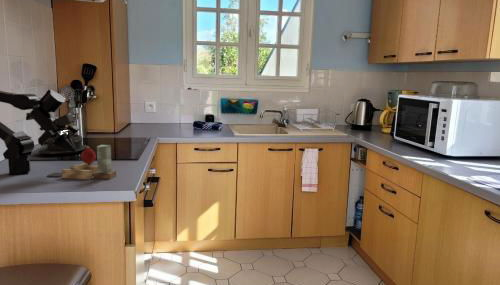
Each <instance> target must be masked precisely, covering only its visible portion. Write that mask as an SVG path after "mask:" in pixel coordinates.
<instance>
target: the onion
mask: <svg viewBox="0 0 500 285" xmlns="http://www.w3.org/2000/svg"><path fill="white" fill-rule="evenodd" d="M80 158H81V161H82V163H88V166H91V165H92V164H93V163H94V162H95V161H96V160H97V159H96V158H97V153H96V152H95V151H94V150H93V148H90V146H89V147H86V149H84V150H82V152H81V155H80Z"/></svg>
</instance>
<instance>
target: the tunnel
mask: <svg viewBox="0 0 500 285" xmlns="http://www.w3.org/2000/svg"><path fill="white" fill-rule="evenodd" d="M97 171H98V165H88V163H85V162H82V163H80V164H72V167H70V168H62V169H61V173H62V179H74V180H76V179H77V180H93V173H94V172H97Z"/></svg>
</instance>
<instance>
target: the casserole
mask: <svg viewBox="0 0 500 285" xmlns="http://www.w3.org/2000/svg"><path fill="white" fill-rule="evenodd" d="M83 140H84V139H83V138H82V137H81V135H79V134H77V133H76V134H75V135H74V136H73V137H72V141H73V143H74V145H75V147H76V149H77V151H76V152H72V151H69V150H67V149H64V148H62V147H59V146H56V145H52V144H53V143H54V141H53V139H50V140H48V141H47V145H46V148H43V149H40V150H38V151H37V153H40V154H43V155H44V154H45V155H59V156H60V155H64V156H65V155H73V154H77V153H78V152H80V151H84V150H85V149H86V147H89V148H90V146H89V145H86V144H82V142H83Z"/></svg>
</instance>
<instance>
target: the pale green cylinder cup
mask: <svg viewBox="0 0 500 285" xmlns="http://www.w3.org/2000/svg"><path fill="white" fill-rule="evenodd" d="M96 158H97V159H96V160H97V166H98V171H97V172H94V173H93V174H92V179H98V180H99V179H101V180H103V179H104V180H112V179H114V178H115V177H117V170H112V167H113V166H112V145H111V144H100V145H97V146H96Z"/></svg>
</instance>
